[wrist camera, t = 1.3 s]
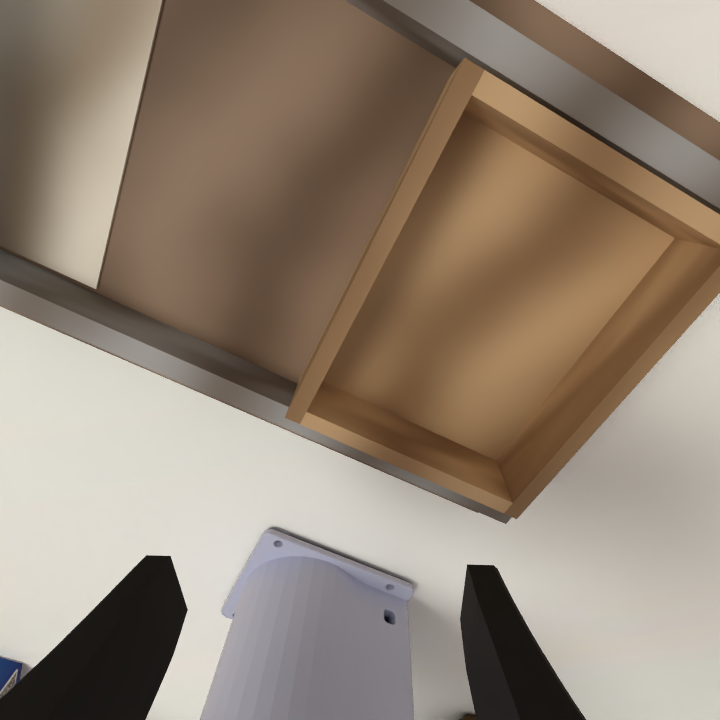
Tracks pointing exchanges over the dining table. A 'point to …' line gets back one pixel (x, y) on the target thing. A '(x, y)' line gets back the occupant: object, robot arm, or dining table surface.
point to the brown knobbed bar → (469, 717)
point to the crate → (506, 298)
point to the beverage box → (9, 674)
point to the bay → (262, 165)
